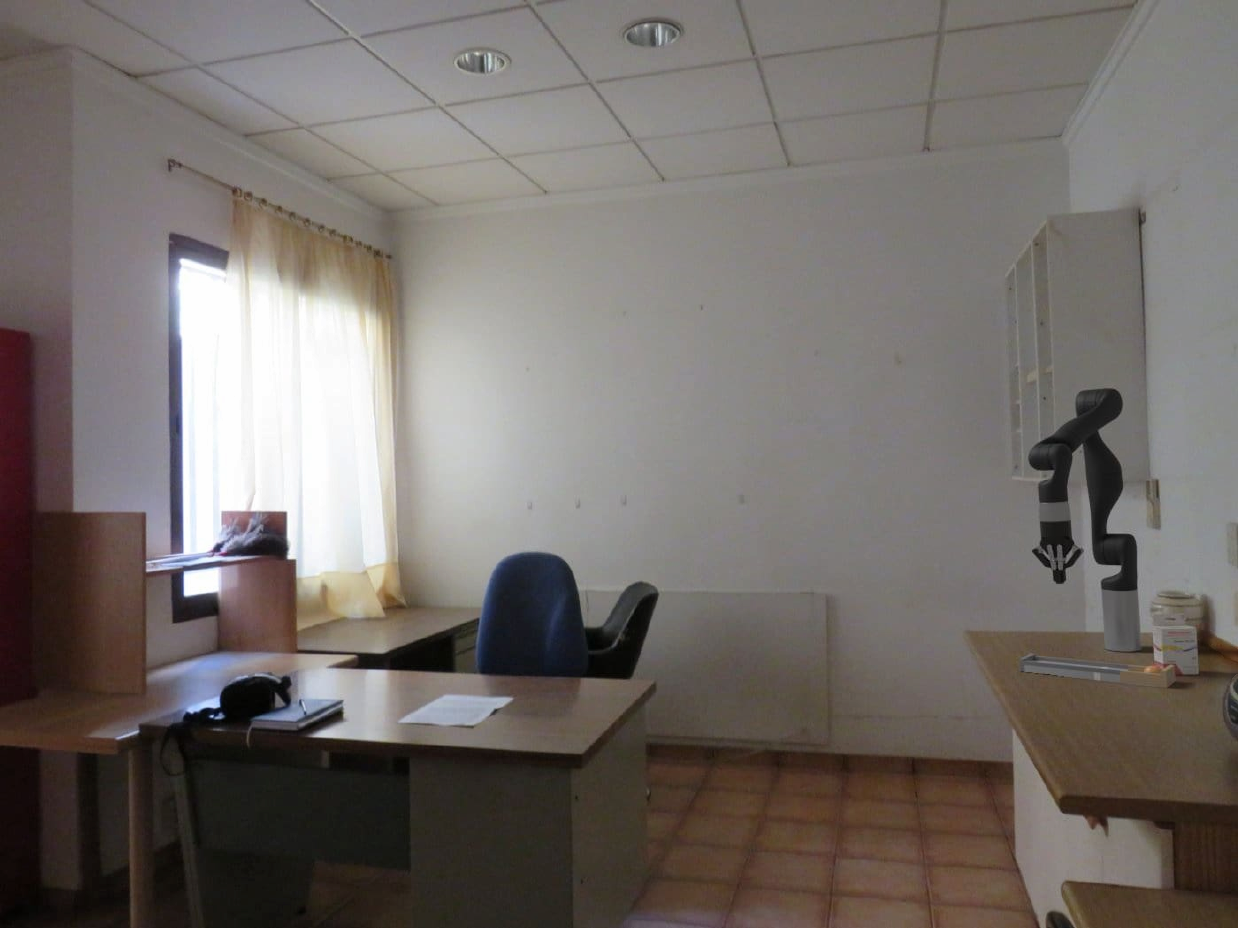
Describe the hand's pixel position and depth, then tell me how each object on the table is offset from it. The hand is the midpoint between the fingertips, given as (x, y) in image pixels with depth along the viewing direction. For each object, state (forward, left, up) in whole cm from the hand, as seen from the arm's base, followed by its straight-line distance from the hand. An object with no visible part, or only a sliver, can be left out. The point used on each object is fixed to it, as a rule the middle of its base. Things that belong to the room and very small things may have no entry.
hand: (1059, 583), depth 239 cm
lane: (+6, +10, -23) cm, 25 cm away
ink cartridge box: (-8, +24, -23) cm, 34 cm away
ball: (+6, +22, -20) cm, 31 cm away
